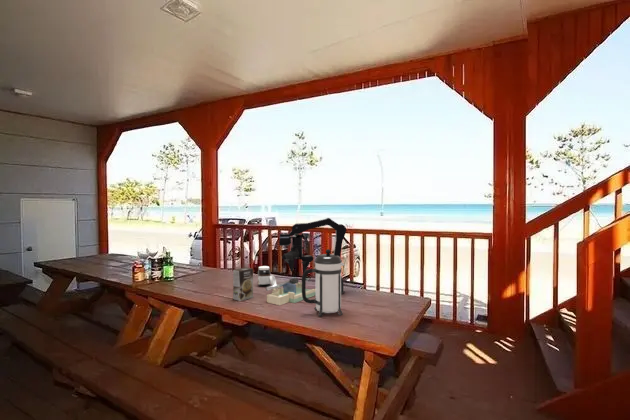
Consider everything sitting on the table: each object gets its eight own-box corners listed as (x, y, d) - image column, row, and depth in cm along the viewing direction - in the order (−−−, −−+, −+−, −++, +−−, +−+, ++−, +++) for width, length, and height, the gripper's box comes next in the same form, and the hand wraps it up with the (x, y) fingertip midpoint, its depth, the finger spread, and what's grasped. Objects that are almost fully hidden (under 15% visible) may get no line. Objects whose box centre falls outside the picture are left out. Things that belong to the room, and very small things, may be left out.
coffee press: (323, 305, 166) (323, 246, 165) (350, 311, 156) (350, 248, 155) (300, 314, 152) (300, 249, 152) (328, 322, 142) (328, 253, 142)
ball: (285, 295, 173) (281, 296, 171) (284, 301, 173) (280, 302, 171) (280, 294, 175) (276, 295, 173) (280, 300, 175) (276, 301, 173)
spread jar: (257, 284, 211) (256, 266, 211) (274, 282, 214) (274, 264, 214) (259, 288, 200) (259, 269, 199) (277, 287, 203) (277, 268, 203)
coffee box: (240, 301, 173) (240, 271, 173) (232, 299, 177) (232, 269, 177) (253, 297, 180) (253, 268, 180) (245, 295, 184) (245, 266, 184)
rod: (305, 289, 186) (305, 279, 186) (275, 299, 167) (275, 288, 167) (294, 287, 191) (294, 277, 191) (264, 297, 172) (264, 285, 172)
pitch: (317, 294, 186) (317, 285, 186) (284, 306, 164) (284, 296, 164) (295, 290, 195) (295, 281, 195) (262, 301, 173) (262, 291, 173)
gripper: (275, 246, 188) (276, 273, 188) (301, 248, 177) (301, 276, 177) (288, 243, 197) (289, 269, 197) (313, 245, 186) (314, 273, 186)
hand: (297, 272), depth 189 cm, fingers open, 9 cm apart
